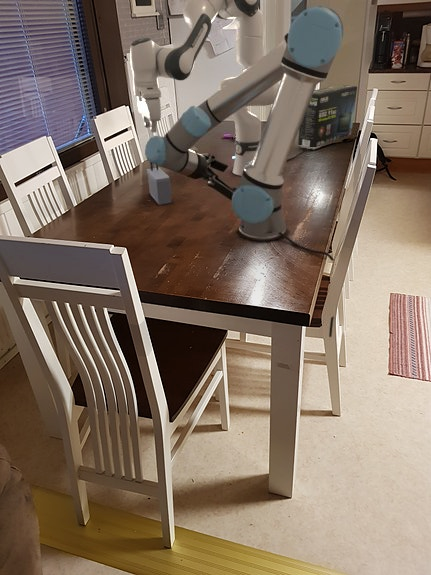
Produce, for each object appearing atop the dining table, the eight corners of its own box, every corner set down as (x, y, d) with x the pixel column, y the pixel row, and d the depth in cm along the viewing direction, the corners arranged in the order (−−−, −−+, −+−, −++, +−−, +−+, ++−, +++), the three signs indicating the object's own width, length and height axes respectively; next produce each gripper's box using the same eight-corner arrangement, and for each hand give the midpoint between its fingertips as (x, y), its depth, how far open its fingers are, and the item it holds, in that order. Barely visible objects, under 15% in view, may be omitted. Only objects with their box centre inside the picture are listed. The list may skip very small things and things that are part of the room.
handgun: (222, 137, 264) (222, 134, 263) (235, 136, 265) (235, 132, 264) (230, 145, 246) (230, 142, 245) (244, 144, 247) (244, 140, 246)
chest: (149, 193, 186) (147, 172, 181) (162, 191, 187) (160, 171, 183) (158, 204, 174) (156, 182, 170) (171, 202, 176) (169, 180, 172)
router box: (314, 151, 231) (318, 94, 217) (296, 148, 237) (299, 92, 224) (352, 138, 251) (358, 85, 238) (335, 135, 258) (340, 83, 245)
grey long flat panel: (147, 172, 182) (144, 151, 177) (159, 170, 183) (157, 149, 179) (156, 182, 170) (154, 160, 166) (169, 180, 172) (167, 158, 167)
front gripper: (167, 147, 145) (211, 166, 161) (199, 201, 134) (244, 215, 150) (181, 128, 142) (224, 149, 158) (215, 182, 130) (259, 199, 146)
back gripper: (131, 87, 172) (136, 125, 179) (144, 94, 156) (149, 136, 163) (147, 85, 174) (151, 123, 181) (162, 92, 157) (166, 134, 165)
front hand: (234, 182), depth 154 cm, fingers open, 13 cm apart
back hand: (150, 129), depth 172 cm, fingers open, 8 cm apart
